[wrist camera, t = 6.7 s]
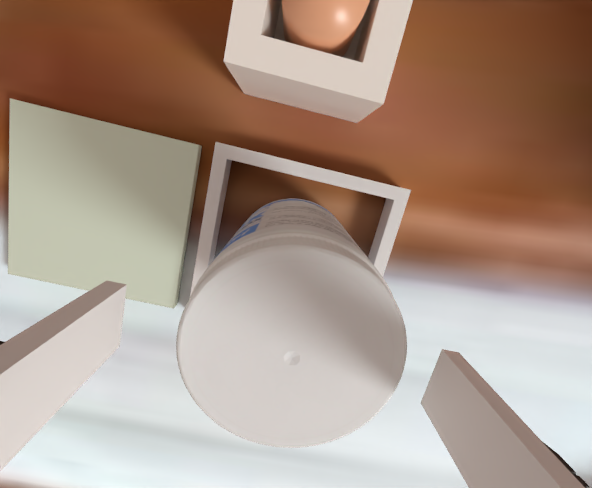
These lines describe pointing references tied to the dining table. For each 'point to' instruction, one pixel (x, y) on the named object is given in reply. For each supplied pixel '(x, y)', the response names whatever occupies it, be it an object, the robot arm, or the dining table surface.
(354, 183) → the frame
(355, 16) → the button
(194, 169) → the mat
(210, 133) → the dining table surface
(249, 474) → the dining table surface
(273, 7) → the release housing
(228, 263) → the supplement tub
